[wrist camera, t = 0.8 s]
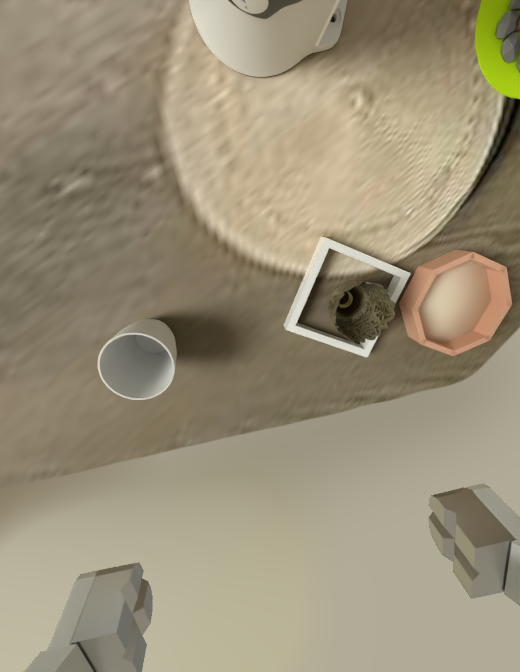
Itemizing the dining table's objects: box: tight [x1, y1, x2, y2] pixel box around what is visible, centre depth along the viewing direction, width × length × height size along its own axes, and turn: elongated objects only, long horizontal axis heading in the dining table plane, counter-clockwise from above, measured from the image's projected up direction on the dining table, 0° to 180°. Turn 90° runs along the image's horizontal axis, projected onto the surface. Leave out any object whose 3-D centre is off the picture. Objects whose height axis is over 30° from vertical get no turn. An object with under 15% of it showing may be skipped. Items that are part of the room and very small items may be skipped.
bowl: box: [399, 249, 512, 356], centre depth 47 cm, size 14×14×4 cm
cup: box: [98, 319, 177, 400], centre depth 41 cm, size 8×8×10 cm
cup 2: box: [328, 280, 395, 343], centre depth 43 cm, size 8×7×8 cm
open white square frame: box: [284, 237, 411, 357], centre depth 46 cm, size 13×13×2 cm
